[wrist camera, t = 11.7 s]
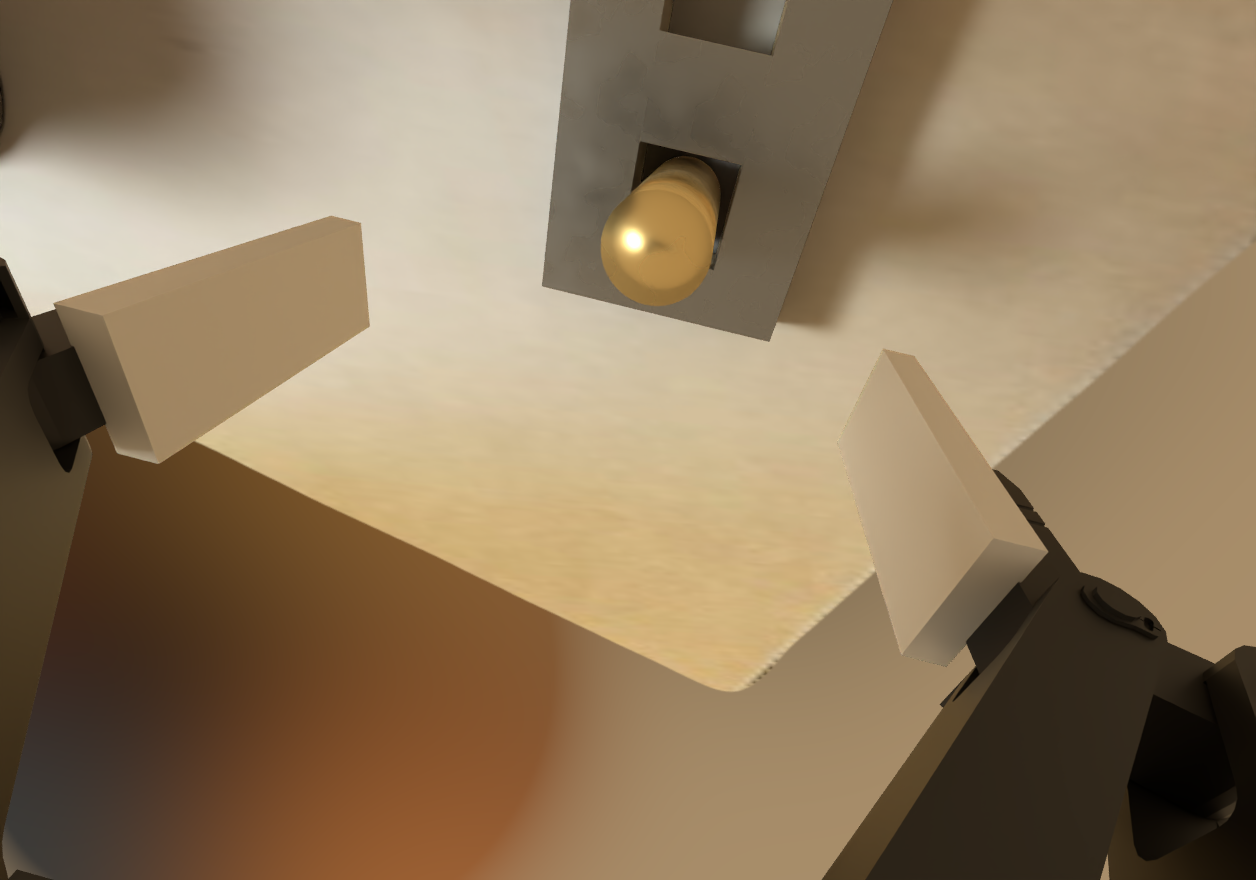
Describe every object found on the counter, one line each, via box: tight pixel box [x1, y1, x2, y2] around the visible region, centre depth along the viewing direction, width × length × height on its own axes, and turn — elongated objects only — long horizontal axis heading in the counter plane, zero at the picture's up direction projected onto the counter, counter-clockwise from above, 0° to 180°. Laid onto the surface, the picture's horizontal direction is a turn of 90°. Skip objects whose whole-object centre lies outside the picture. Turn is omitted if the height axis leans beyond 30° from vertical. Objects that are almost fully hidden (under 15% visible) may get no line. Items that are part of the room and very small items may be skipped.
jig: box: [542, 0, 893, 342], centre depth 28 cm, size 14×22×4 cm, turn 169°
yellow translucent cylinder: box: [601, 156, 721, 306], centre depth 27 cm, size 4×4×13 cm
